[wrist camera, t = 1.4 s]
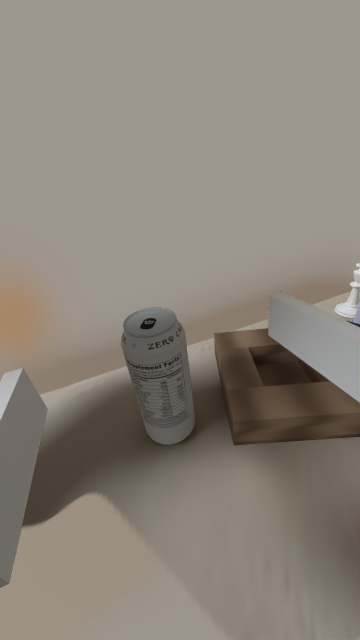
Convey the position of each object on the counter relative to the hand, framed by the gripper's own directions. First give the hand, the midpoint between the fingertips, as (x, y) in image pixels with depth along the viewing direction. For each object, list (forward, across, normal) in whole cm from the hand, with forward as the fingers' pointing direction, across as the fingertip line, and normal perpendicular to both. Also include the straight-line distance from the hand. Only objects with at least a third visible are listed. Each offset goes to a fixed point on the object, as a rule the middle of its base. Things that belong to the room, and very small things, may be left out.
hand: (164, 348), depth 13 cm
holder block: (+10, +16, -18) cm, 26 cm away
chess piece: (+20, +39, -18) cm, 48 cm away
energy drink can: (+10, 0, -18) cm, 20 cm away
